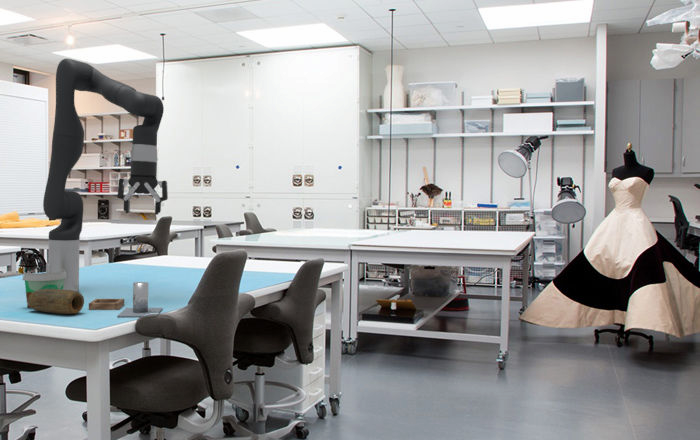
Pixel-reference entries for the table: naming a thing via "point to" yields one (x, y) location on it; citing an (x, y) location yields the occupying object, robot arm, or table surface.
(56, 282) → the food container
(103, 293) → the table surface
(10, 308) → the table surface
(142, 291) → the steel pin
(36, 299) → the brown wooden cylinder
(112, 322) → the table surface
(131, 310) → the mat
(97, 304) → the socket
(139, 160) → the robot arm
